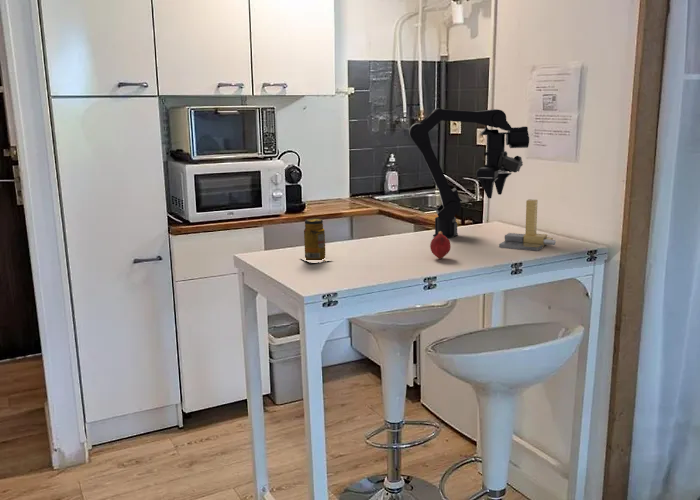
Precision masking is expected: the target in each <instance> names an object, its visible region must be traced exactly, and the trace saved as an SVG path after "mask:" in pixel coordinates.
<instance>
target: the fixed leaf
mask: <svg viewBox="0 0 700 500" xmlns="http://www.w3.org/2000/svg"><path fill="white" fill-rule="evenodd" d="M524 235H525V233H516V232H508V233H507V234H504V240H503V241H502V242H500V243H499V244H498V248H501V249H511V250H513V249H514V250H526V251H533V252H539V251H540V250H541V249H543V248H542V246H543V245H540V244H529V243H523V241H524ZM544 244H546V245H545V246H556V239H553V240H549V239H544Z"/></svg>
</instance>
